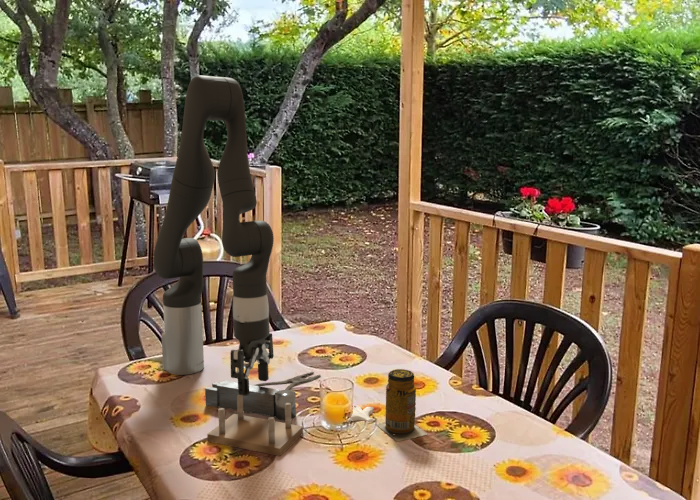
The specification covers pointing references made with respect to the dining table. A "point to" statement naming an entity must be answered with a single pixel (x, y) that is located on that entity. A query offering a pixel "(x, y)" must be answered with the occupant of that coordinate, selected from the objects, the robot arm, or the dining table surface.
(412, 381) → the condiment
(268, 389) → the grey metal bar
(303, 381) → the pliers
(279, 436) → the rack
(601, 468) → the dining table surface
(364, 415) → the acanthus leaf ornament
